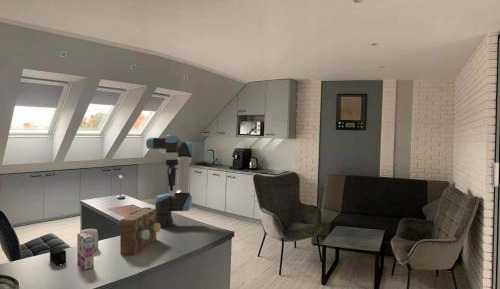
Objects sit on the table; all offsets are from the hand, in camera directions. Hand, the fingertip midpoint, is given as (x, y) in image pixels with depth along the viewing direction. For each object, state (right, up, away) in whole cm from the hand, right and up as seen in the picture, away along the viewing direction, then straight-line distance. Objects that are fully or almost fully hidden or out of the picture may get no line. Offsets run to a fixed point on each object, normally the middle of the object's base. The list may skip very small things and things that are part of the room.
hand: (171, 195), depth 204 cm
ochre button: (-9, -22, -5) cm, 24 cm away
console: (-17, -30, -10) cm, 36 cm away
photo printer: (-45, -30, -16) cm, 57 cm away
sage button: (-11, -23, -18) cm, 31 cm away
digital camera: (-53, -30, -35) cm, 70 cm away
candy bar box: (-35, -31, -39) cm, 61 cm away
